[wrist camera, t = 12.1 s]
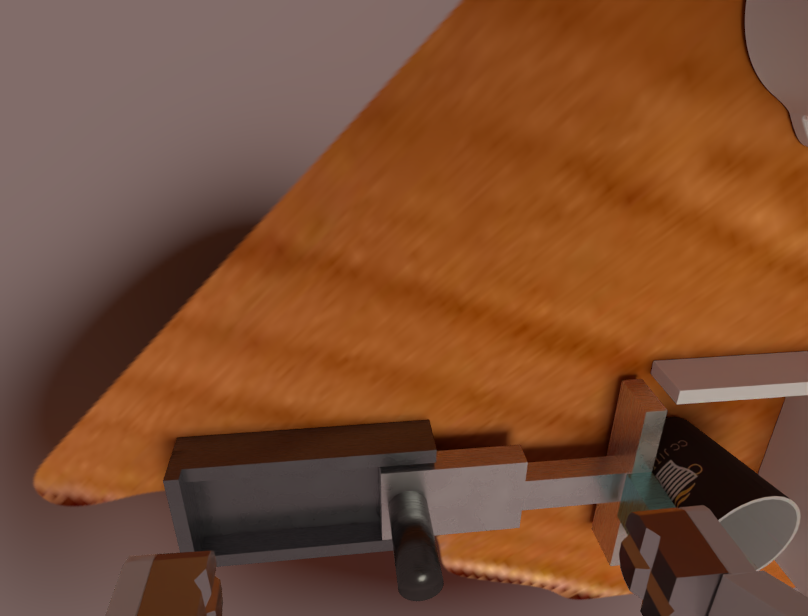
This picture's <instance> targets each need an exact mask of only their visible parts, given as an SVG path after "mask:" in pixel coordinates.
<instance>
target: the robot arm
mask: <svg viewBox="0 0 808 616" xmlns="http://www.w3.org/2000/svg"><path fill="white" fill-rule="evenodd" d="M745 35H746V43H747V48H748V53H749V56H750V60H751V62H752V65H753V67H754V69H755V72H756V74H757V75H758V77H759V79H760V80H761V82H762V83H763V84H764V86H765V87H766V88H767V89H768V90H769V91H770V92H771V93H772V94H773V95H774V96H775V97H776V98H777V99H778V100H779V101H780V102H782V103H783V105H784V106H785V107H786V108H787V110H788V111H789V113H790V117H791V121H792V124H793V127H794V130H795V133H796V136H797V138H798V140H799V141H800V142H801V143H802V144H803V145H804V146H807V147H808V0H746V9H745ZM625 526H626V528H627V530H628V532H629V535H628V536H627V537H626V538H625V539H624V540H623V541H622V542H621V546H620V551H619V559H620V568H621V571H622V574H623V577H624V580H625V582H626V584H627V586H628V588H629V590H630V591H631V592H632V593H634V594H635V595H636V596H638V597H639V598H641V599H642V605H641V610H640V612H641V613H642V615H643V616H808V597H806V596H804V595H803V594H801V593H800V592H798V591H796V590H795V589H793V588H791V587H790V586H788V585H786V584H785V583H783V582H781V581H780V580H778V579H776V578H775V577H773V576H771V575H770V574H768V573H767V572H765V571H756V570H755V569H754V567H753V566H752V565H751V563H750V562H749V561H748V559H747V558H746V557H745V555H744V554H743V553H742V551H741V550H740V549H739V547H738V546H737V545H736V544H735V542H734V541H733V540H732V538H731V537H730V536H729V534H728V533H727V532H726V530H725V529H724V528H723V526H722V525H721V524H720V522H719V521H718V520H717V518H716V517H715V516H714V514H713V513H712V512H711V510H710V509H709V508H707V507H706V506H704V505H700V506H690V507H680V508H666V509H656V510H646V511H637V512H631V513H630V514H629V516H628V517H627V521H626V525H625ZM216 566H217V562H216V558H215V553H214V551H197V552H182V553H166V554H155V555H141V556H129V557H128V559H127V560H126V561H125V563H124V564H123V566H122V570H121V572H120V575H119V578H118V581H117V584H116V587H115V589H114V592H113V595H112V598H111V601H110V604H109V606H108V609H107V612H106V615H105V616H222V605H223V598H222V587H221V582H220V579H218V578H217V577H215V571H216Z"/></svg>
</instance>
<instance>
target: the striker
mask: <svg viewBox="0 0 808 616" xmlns="http://www.w3.org/2000/svg"><path fill="white" fill-rule="evenodd" d="M667 411H668V410H667V409H666V408H665V407H664V405H663V404H662V403H661V402H660V400H659V399H658V398H657V397H656V396H655V394H654V393H653V392H652V391H651V389H650V388H649V387H648V386H647V385H646V383H645V382H644V381H643V380H642V379H632V380H622V383H621V388H620V393H619V398H618V403H617V408H616V412H615V417H614V422H613V427H612V432H611V437H610V442H609V446H608V451H607V456H605V457H592V458H580V459H567V460H554V461H542V462H529V463H528V462H527V459H526V457H525V455H524V452H523V450H522V448H521V445H509V446H496V447H483V448H470V449H457V450H444V451H437V454H436V463H425V464H412V465H400V466H387V467H379V493H380V525H381V534H382V540H389V539H392V542H393V550H394V558H395V566H396V574H397V582H398V590H399V593H400V594H401V595H402V596H403V597H404V598H406V599H408V600H412V601H423V600H427V599H430V598H432V597H434V596H436V595H437V594H438V593H439V592H440V591H441V590H442V588H443V584H444V583H443V577H442V572H441V568H440V562H439V557H438V552H437V547H436V542H435V537H434V535H444V534H455V533H466V532H477V531H488V530H499V529H510V528H519V527H520V519H521V511H522V510H530V509H541V508H553V507H564V506H575V505H587V504H597V505H596V509H595V514H594V519H593V524H592V531H593V533H594V535H595V537H596V539H597V541H598V543H599V545H600V547H601V549H602V551H603V553H604V555H605V557H606V559H607V561H608V563H609V565H610V566H615V565H620V559H619V551H620V546H621V542H622V541H623V540H624V539H625V538H626V537H627V536H628V535H629V532H628V530H627V528H626V526H625V525H626V521H627V517H628V516H629V514H630V513H631V512H637V511H646V510H656V509H666V508H676V507H675V505H674V504H673V502H672V501H671V499H670V498H669V496H668V495H667V493H666V492H665V490H664V489H663V487H662V486H661V485H660V483H659V482H658V480H657V479H656V477H655V476H654V474H653V473H652V469H653V466H654V462H655V458H656V454H657V450H658V446H659V442H660V438H661V434H662V430H663V426H664V422H665V418H666V415H667Z"/></svg>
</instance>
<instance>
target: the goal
mask: <svg viewBox="0 0 808 616" xmlns="http://www.w3.org/2000/svg"><path fill="white" fill-rule="evenodd" d="M651 375H652V376H653V377H654V378H655V380H656V381H657V382H658V383H659V384H660V385H661V387H662V388H663V389H664V390H665V391H666V393H667V394H668V395H669V396H670V397H671V398H672V400H673V401H674V402H675V403H676V404H689V403H703V402H717V401H731V400H745V399H759V398H773V397H786V398H785V401H784V404H783V406H782V409H781V412H780V415H779V417H778V420H777V423H776V426H775V428H774V431H773V434H772V437H771V439H770V442H769V445H768V448H767V450H766V453H765V456H764V459H763V462H762V464H761V467H760V470H759V473H758V475H759V476H761V477H762V478H763V479H765V480H766V481H767V482H769V483H770V484H771V485H773V486H774V487H775V488H777V489H778V490H779V491H781V492H782V493H783V494H785V495H786V496H787V497H788V498H790V499H791V500H792V501H794V502H795V503H796V504H797V506H798V507H799V509H800V514H801V518H800V524H799V527H798V530H797V532H796V534H795V536H794V538H793V539H792V541H791V542H790V543H789V545H788V546H787V547H786V549H785V550H784V551H783V552H782V553H781V554H780V555H779V556H778V557H777V558H775V559H774V560H775V561H776V562H777V564H778V565H779V566H780V567H781V569H782V570H783V571H784V573H785V574H786V575H787V576H788V578H789V579H790V580H791V581H792V583H793V584H794V585H795V586H796V588H797V589H798V590H799V591H800V593H801V594H803V595H804V596H806V597H808V351H801V352H785V353H769V354H754V355H738V356H722V357H706V358H690V359H674V360H659V361H653V365H652V370H651Z"/></svg>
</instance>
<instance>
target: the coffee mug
mask: <svg viewBox="0 0 808 616" xmlns="http://www.w3.org/2000/svg"><path fill="white" fill-rule="evenodd" d="M652 473H653V474H654V476H655V477H656V479H657V480H658V482H659V483H660V485H661V486H662V487H663V489H664V490H665V492H666V493H667V495H668V496H669V498H670V499H671V501H672V502H673V504H674V505H675V507H676V508H680V507H690V506H700V505H704V506H706V507H707V508H709V509H710V510H711V512H712V513H713V514H714V516H715V517H716V518H717V520H718V521H719V522H720V524H721V525H722V526H723V528H724V529H725V530H726V532H727V533H728V534H729V536H730V537H731V538H732V540H733V541H734V542H735V544H736V545H737V546H738V547H739V549H740V550H741V551H742V553H743V554H744V555H745V557H746V558H747V559H748V561H749V562H750V563H751V565H752V566H753V567H754V569H755V570H756V571H759V570H761V569H762V568H764V567H765V566H767V565H768V564H769V563H771V562H772V561H773V560H774V559H775V558H777V557H778V556H779V555H780V554H781V553H782V552H783V551H784V550H785V549H786V547H787V546H788V545H789V543H790V542H791V541H792V539H793V538H794V536H795V534H796V532H797V530H798V527H799V524H800V518H801V514H800V509H799V507H798V506H797V504H796V503H795V502H794V501H792V500H791V499H790V498H788V497H787V496H786V495H785V494H783V493H782V492H781V491H779V490H778V489H777V488H775V487H774V486H773V485H771V484H770V483H769V482H767V481H766V480H765V479H763V478H762V477H761V476H759V475H758V474H757V473H756V472H754V471H753V470H752V469H750V468H749V467H748V466H746V465H745V464H744V463H742V462H741V461H740V460H738V459H737V458H736V457H734V456H733V455H732V454H731V453H729V452H728V451H727V450H725V449H724V448H723V447H721V446H720V445H719V444H717V443H716V442H715V441H713V440H712V439H711V438H709V437H708V436H707V435H705V434H704V433H703V432H702V431H700V430H699V429H698V428H696V427H695V426H694V425H692V424H691V423H690V422H688V421H687V420H685V419H683V418H677V417H672V418H666V419H665V422H664V426H663V430H662V434H661V438H660V442H659V446H658V450H657V454H656V458H655V462H654V466H653V469H652Z"/></svg>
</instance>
